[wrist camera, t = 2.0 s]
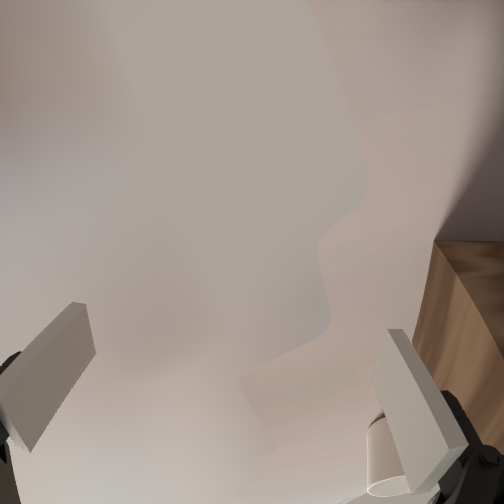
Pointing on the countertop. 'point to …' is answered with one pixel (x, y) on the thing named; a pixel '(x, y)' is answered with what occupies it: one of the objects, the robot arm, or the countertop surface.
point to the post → (466, 331)
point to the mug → (384, 462)
